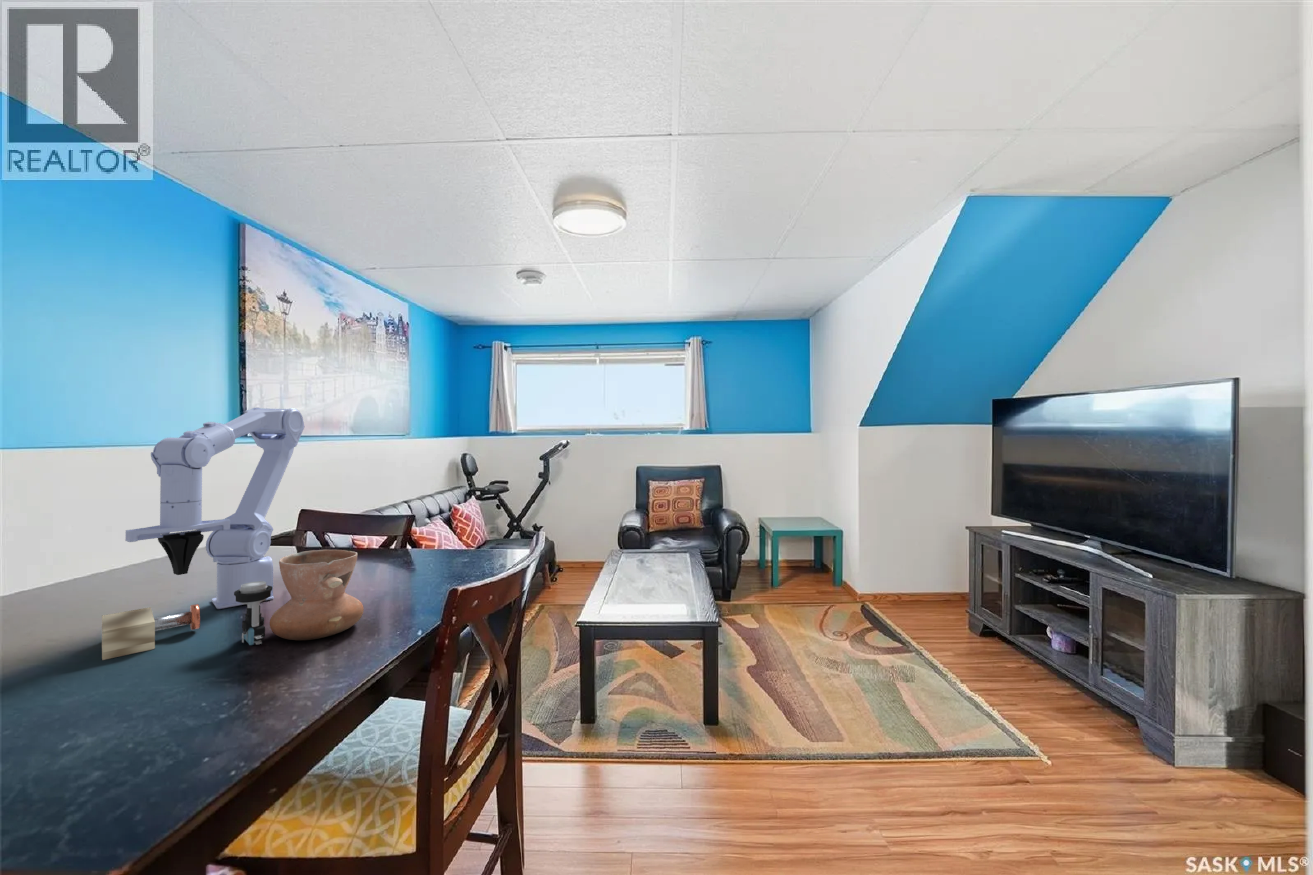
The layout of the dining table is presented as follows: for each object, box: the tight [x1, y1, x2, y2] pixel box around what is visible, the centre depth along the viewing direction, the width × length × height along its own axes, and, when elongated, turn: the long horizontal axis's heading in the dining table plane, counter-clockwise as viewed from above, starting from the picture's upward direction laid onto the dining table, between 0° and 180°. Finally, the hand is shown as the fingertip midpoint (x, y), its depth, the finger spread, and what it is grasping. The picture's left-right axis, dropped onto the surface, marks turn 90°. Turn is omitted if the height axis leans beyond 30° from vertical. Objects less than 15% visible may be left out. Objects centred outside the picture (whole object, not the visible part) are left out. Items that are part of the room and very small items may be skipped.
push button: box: [234, 581, 274, 646], centre depth 89 cm, size 7×5×10 cm
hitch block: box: [101, 606, 156, 661], centre depth 87 cm, size 6×10×5 cm, turn 48°
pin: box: [154, 603, 201, 632], centre depth 89 cm, size 12×4×4 cm, turn 138°
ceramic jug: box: [269, 549, 365, 641], centre depth 95 cm, size 18×14×14 cm
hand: (180, 573), depth 96 cm, fingers closed
